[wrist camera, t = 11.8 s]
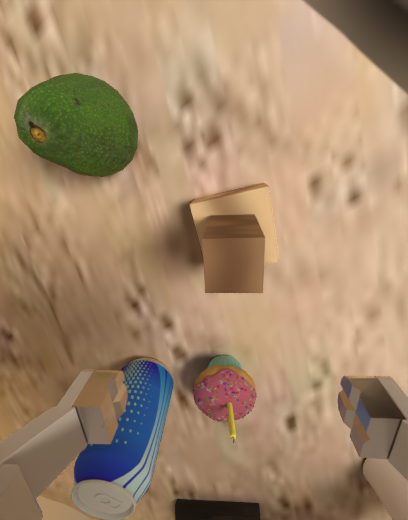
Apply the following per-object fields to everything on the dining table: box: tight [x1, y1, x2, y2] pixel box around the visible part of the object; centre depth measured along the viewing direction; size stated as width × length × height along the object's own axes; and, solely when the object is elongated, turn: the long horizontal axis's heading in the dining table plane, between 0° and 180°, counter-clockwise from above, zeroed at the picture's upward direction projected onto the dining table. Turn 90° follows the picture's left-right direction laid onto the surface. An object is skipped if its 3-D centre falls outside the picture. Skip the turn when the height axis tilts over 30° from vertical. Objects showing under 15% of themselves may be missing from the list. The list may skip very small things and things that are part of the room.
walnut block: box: [202, 214, 265, 293], centre depth 23 cm, size 4×4×8 cm
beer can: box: [71, 357, 173, 520], centre depth 32 cm, size 8×8×16 cm
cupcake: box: [193, 355, 256, 444], centre depth 32 cm, size 9×8×12 cm
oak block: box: [190, 183, 280, 264], centre depth 28 cm, size 8×8×4 cm
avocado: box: [14, 73, 138, 177], centre depth 21 cm, size 8×8×12 cm
